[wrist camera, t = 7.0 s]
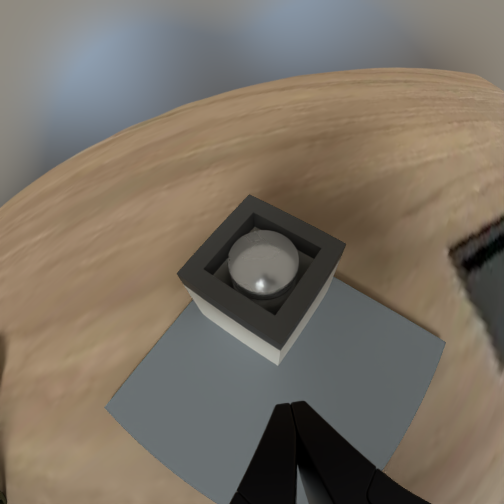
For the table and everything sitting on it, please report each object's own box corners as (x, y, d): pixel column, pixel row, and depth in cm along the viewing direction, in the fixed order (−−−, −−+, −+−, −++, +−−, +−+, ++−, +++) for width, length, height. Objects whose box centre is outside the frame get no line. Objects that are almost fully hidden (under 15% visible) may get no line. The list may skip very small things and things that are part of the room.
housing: (326, 291, 22) (346, 243, 16) (278, 365, 19) (281, 344, 13) (255, 250, 24) (249, 194, 19) (203, 314, 22) (176, 273, 16)
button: (302, 292, 21) (311, 250, 16) (272, 335, 20) (273, 306, 14) (258, 266, 23) (254, 219, 17) (228, 306, 21) (213, 267, 16)
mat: (440, 345, 19) (445, 342, 19) (312, 546, 12) (313, 550, 11) (251, 237, 26) (251, 230, 26) (110, 408, 19) (104, 407, 18)
